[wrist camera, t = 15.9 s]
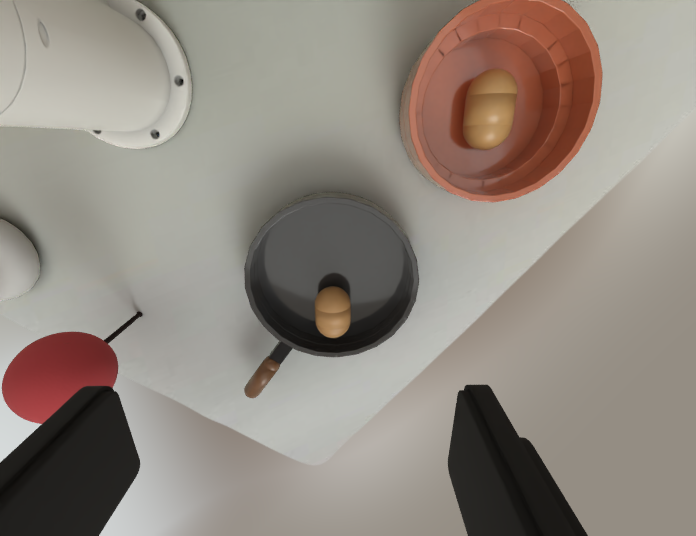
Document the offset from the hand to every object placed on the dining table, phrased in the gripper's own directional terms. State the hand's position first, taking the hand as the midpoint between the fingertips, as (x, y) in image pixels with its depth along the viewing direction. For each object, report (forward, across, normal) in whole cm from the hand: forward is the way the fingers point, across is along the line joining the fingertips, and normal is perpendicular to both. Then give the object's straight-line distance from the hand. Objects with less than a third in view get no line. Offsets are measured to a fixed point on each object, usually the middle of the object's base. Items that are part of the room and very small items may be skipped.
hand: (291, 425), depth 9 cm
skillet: (+28, 0, +7) cm, 29 cm away
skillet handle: (+26, +8, +18) cm, 33 cm away
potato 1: (+28, 0, +11) cm, 30 cm away
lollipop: (+28, +24, +12) cm, 39 cm away
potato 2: (+28, -14, -10) cm, 33 cm away
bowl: (+28, -14, -10) cm, 33 cm away
